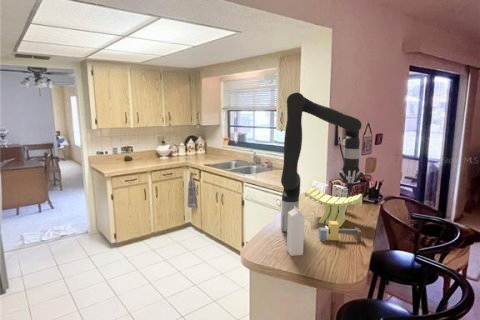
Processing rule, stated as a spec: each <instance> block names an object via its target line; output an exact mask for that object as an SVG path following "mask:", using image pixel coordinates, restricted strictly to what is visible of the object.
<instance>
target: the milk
mask: <svg viewBox="0 0 480 320" xmlns="http://www.w3.org/2000/svg"><path fill="white" fill-rule="evenodd" d="M304 236H305V215H304V214H303V213H302V212H301V211H299V209H298V208H296V207H295V206H294V209H292V210H291V211H289V212H288V225H287V232H286V238H287V239H286V251H287V253H288V254H289V255H290V256H291V257H292V256H293V257H294V256H304V238H305V237H304Z"/></svg>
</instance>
